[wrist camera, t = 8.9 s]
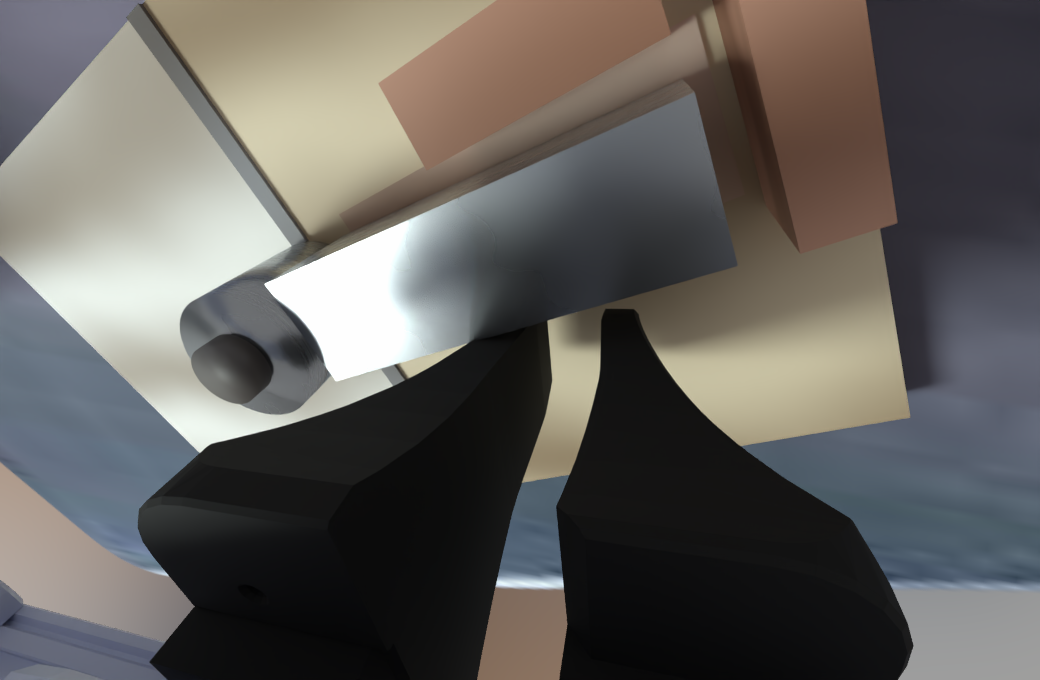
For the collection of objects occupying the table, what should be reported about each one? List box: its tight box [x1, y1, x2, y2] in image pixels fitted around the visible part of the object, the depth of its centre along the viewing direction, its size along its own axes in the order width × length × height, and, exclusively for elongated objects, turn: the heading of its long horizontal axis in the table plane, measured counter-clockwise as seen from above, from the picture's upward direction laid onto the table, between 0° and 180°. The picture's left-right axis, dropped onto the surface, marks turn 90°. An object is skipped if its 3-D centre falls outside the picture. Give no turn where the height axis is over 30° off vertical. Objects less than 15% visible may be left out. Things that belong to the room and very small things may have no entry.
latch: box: [180, 79, 738, 415], centre depth 9 cm, size 11×3×3 cm, turn 115°
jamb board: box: [0, 0, 910, 482], centre depth 11 cm, size 15×23×5 cm, turn 118°
